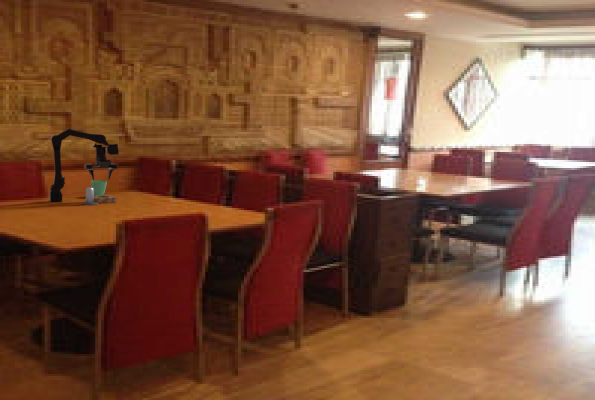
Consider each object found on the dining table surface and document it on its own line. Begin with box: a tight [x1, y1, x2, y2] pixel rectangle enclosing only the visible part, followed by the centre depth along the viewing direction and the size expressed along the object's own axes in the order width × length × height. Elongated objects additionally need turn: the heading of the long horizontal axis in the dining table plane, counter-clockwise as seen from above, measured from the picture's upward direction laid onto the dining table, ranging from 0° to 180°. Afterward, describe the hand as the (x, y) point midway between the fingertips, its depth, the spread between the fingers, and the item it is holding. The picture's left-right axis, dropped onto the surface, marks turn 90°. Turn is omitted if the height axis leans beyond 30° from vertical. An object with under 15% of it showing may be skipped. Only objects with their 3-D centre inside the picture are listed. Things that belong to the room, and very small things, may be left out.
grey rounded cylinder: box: [85, 187, 94, 204], centre depth 370 cm, size 4×4×9 cm
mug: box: [90, 180, 108, 196], centre depth 406 cm, size 15×10×10 cm
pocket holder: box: [94, 194, 117, 204], centre depth 383 cm, size 12×12×3 cm
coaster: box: [81, 201, 99, 206], centre depth 371 cm, size 9×9×1 cm
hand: (101, 180), depth 386 cm, fingers open, 9 cm apart
